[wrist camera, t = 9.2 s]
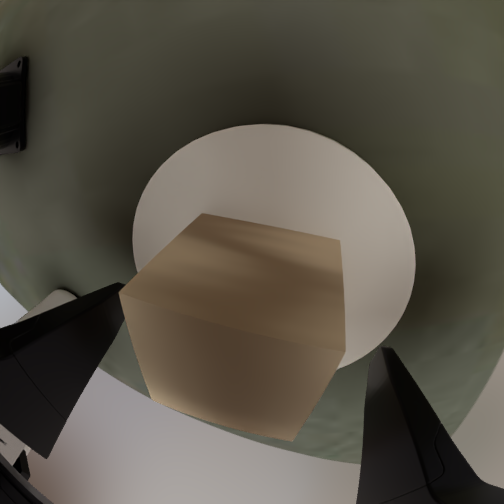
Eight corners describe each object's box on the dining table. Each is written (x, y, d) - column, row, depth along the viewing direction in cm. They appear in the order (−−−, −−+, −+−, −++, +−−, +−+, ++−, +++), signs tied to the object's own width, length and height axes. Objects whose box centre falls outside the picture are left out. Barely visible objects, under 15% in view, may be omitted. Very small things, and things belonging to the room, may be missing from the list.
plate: (157, 330, 16) (149, 341, 15) (140, 116, 10) (125, 118, 9) (354, 378, 14) (354, 392, 13) (446, 166, 8) (457, 172, 7)
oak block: (202, 314, 12) (152, 400, 8) (202, 213, 10) (118, 292, 6) (308, 340, 12) (292, 441, 7) (339, 240, 9) (345, 352, 5)
